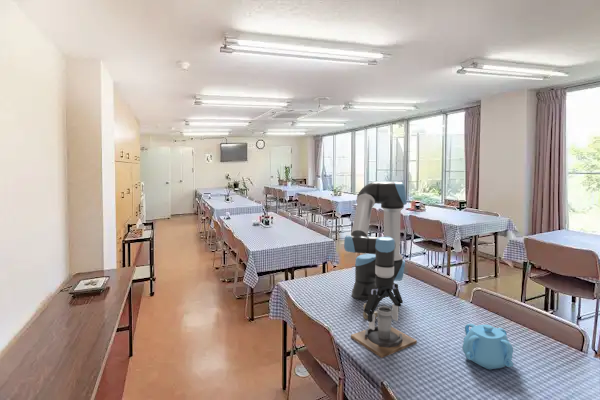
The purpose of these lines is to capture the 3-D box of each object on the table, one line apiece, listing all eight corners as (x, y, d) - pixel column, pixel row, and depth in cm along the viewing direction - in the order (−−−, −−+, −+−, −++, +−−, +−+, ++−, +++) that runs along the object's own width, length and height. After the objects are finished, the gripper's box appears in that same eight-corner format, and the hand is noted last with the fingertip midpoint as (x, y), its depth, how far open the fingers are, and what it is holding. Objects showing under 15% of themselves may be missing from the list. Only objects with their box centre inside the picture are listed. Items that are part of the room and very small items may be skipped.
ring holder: (384, 325, 151) (384, 319, 151) (416, 343, 136) (416, 336, 136) (350, 337, 141) (350, 331, 140) (381, 358, 125) (381, 351, 125)
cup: (389, 342, 134) (390, 314, 132) (373, 338, 137) (374, 310, 136) (394, 335, 140) (395, 307, 139) (379, 331, 143) (379, 304, 142)
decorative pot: (513, 379, 112) (516, 342, 111) (461, 366, 120) (463, 330, 119) (510, 355, 127) (512, 321, 125) (463, 345, 134) (465, 313, 133)
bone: (385, 318, 154) (376, 303, 152) (376, 328, 152) (367, 312, 149) (374, 312, 162) (365, 297, 159) (365, 322, 160) (356, 306, 157)
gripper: (398, 267, 145) (397, 313, 147) (355, 278, 132) (354, 328, 134) (412, 272, 139) (410, 320, 141) (368, 283, 126) (367, 336, 128)
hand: (383, 324), depth 138 cm, fingers open, 13 cm apart
